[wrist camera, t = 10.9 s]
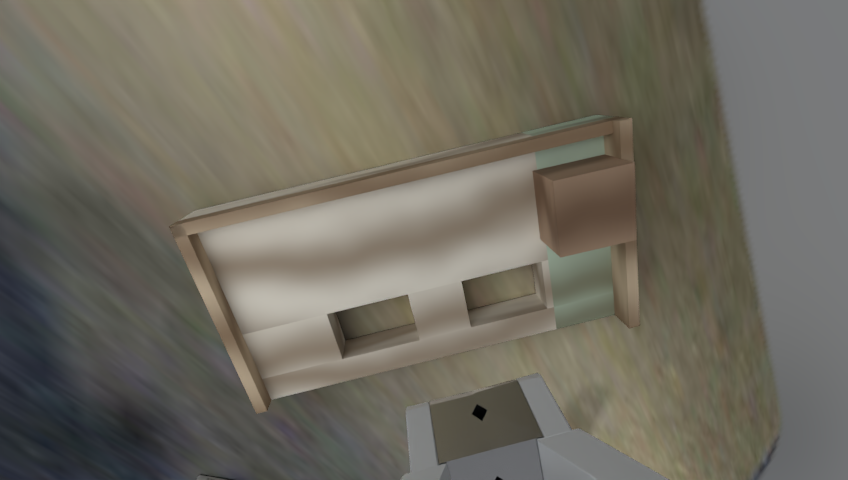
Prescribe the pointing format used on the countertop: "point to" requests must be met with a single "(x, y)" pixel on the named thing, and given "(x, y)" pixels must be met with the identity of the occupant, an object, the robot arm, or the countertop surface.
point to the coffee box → (208, 478)
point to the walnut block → (586, 204)
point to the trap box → (401, 260)
